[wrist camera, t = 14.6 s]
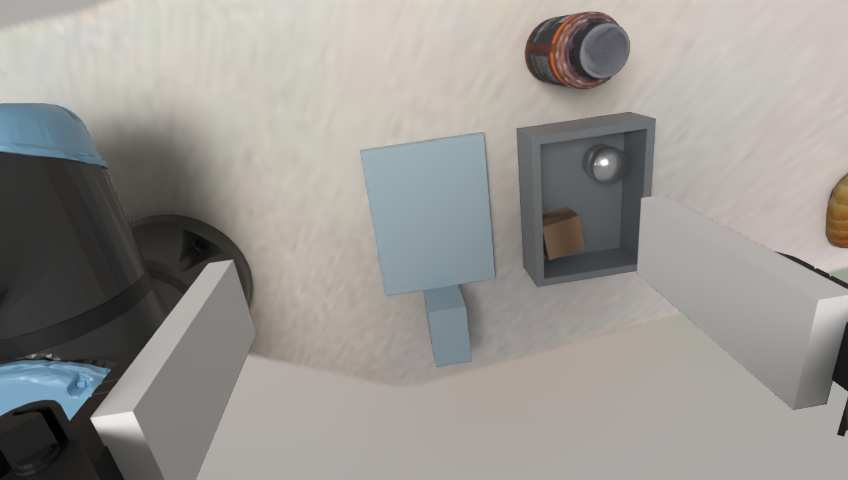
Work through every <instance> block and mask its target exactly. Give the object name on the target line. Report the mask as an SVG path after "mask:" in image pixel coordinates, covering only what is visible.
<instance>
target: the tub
mask: <svg viewBox="0 0 848 480" xmlns="http://www.w3.org/2000/svg"><path fill="white" fill-rule="evenodd" d="M655 123H656V119H654V118H651V117H647V116H643V115H639V114H635V113H632V112H626V113H619V114H612V115H606V116H599V117H592V118H585V119H578V120H572V121H565V122H558V123H551V124H544V125H538V126H531V127H524V128H517V145H518V165H519V185H520V205H521V225H522V245H523V265H524V268H525V270H526V271H527V272H528V274H529V275H530V277H531V278H532V280H533V281H534V283H535V284H536V286H537V287H539V286H546V285H552V284H558V283H564V282H571V281H577V280H583V279H589V278H595V277H602V276H608V275H614V274H620V273H627V272H633V271H637V263H638V246H639V229H640V212H641V198H644V197H651V186H652V170H653V154H654V138H655ZM596 144H607V145H609V146H611V147H614V148H616V149H619V150H621V151H623V152H624V153H625V154H626V155H627V157H628V160H629V168H628V171H627V173H626V175H625V176H624V177H623V178H622V179H621V180H620V181H618V182H617V183H614V184H603V183H601V182H599V181H598V180H596V179H594V178H593V177H591V176H589V175H588V174H587V173H586V172H585V171H584V169H583V166H582V160H583V156H584V154H585V152H586V151H587V150H588V149H589V148H590V147H592V146H593V145H596ZM565 207H569V208H570V209H571V210H573V211H574V212H575V213H576V214H577V215H579V219H580V225H581V230H582V235H583V240H584V246H585V249H583V250H580V251H577V252H574V253H571V254H567V255H564V256H561V257H558V258H555V259H552V260H549V259H548V258H547V257H546V255H545V254H544V253H543V223H542V215H544V214H547V213H550V212H553V211H556V210H559V209H562V208H565Z"/></svg>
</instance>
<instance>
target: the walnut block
mask: <svg viewBox="0 0 848 480" xmlns="http://www.w3.org/2000/svg"><path fill="white" fill-rule="evenodd" d="M542 223H543V253H544V254H545V255H546V257H547V258H548V259H549V260H552V259H555V258H558V257H561V256H564V255H567V254H571V253H574V252H577V251H580V250H583V249H585V246H584V240H583V235H582V230H581V225H580V219H579V215H577V214H576V213H575V212H574V211H573V210H571V209H570V208H569V207H565V208H562V209H559V210H556V211H553V212H550V213H547V214H544V215H542Z"/></svg>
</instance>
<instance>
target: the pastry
mask: <svg viewBox="0 0 848 480" xmlns="http://www.w3.org/2000/svg"><path fill="white" fill-rule="evenodd" d="M832 191H833V194H832V197H831V199H830V200H829V202H828V207H827V215H826V216H827V218H826V235H827V237H828V240H829V242H830V243H831V244H832V245H834V246H837V247H840V248H848V175H847V176H846V177H844V178H843V179H842V180H841V181H840V182H839V183H838V184H837V185H836V186H835V188H834V189H833V190H832Z"/></svg>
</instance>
